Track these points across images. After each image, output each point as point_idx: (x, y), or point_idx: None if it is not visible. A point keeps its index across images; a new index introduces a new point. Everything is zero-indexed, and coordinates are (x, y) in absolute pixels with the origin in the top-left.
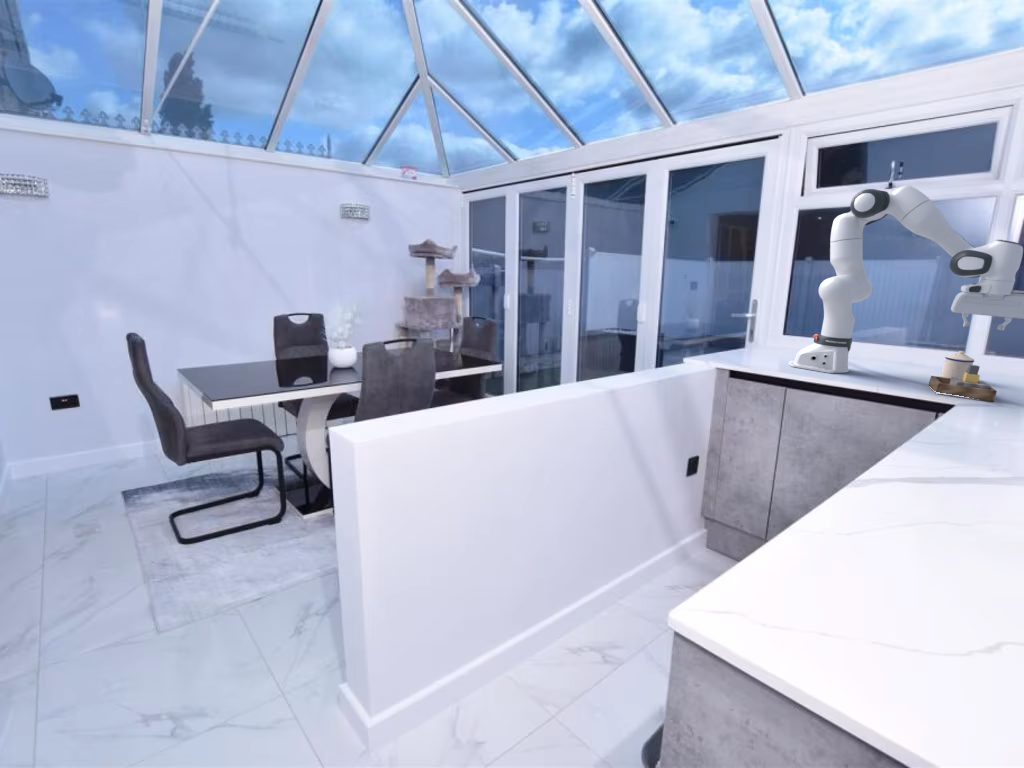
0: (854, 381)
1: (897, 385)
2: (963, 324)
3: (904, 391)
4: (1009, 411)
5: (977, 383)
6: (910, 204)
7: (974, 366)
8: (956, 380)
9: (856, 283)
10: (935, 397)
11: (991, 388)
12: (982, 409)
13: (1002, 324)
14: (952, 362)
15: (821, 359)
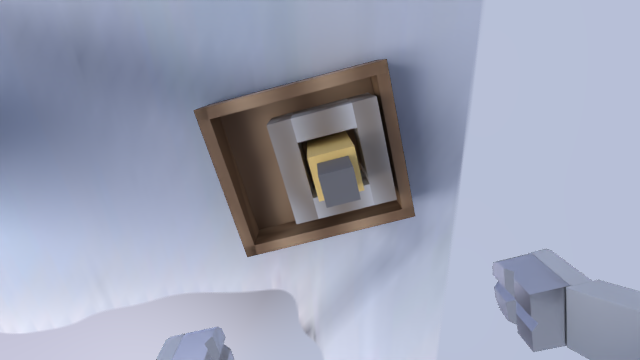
0: (23, 272)
1: (133, 207)
2: (166, 356)
3: (178, 282)
4: (433, 287)
5: None
6: None
7: (340, 204)
8: (291, 198)
9: None
10: (261, 285)
11: (401, 180)
12: (373, 323)
13: (572, 311)
14: None
15: None
